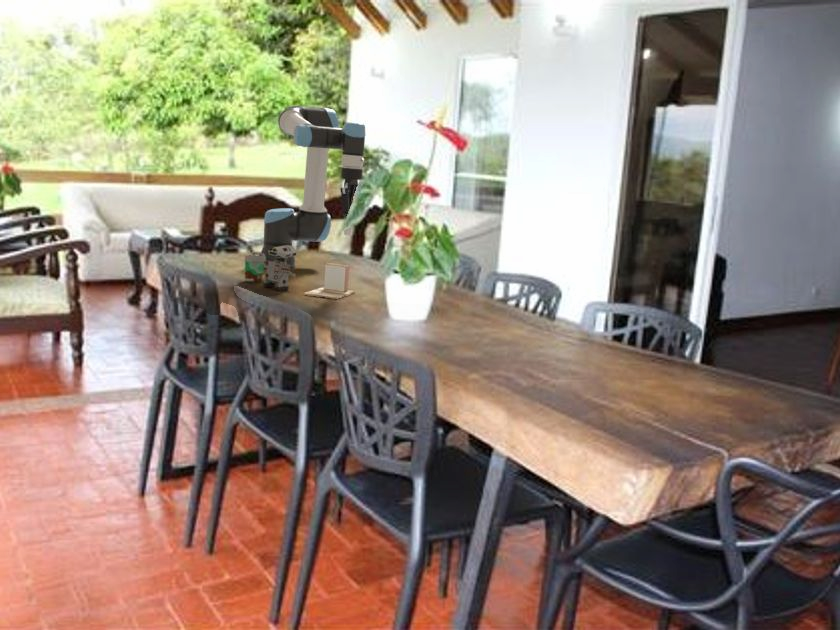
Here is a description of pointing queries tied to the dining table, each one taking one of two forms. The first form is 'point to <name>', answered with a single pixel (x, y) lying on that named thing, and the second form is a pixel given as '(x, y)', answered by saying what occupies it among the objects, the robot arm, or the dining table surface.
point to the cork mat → (328, 293)
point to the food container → (254, 267)
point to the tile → (336, 277)
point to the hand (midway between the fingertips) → (347, 234)
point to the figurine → (279, 267)
